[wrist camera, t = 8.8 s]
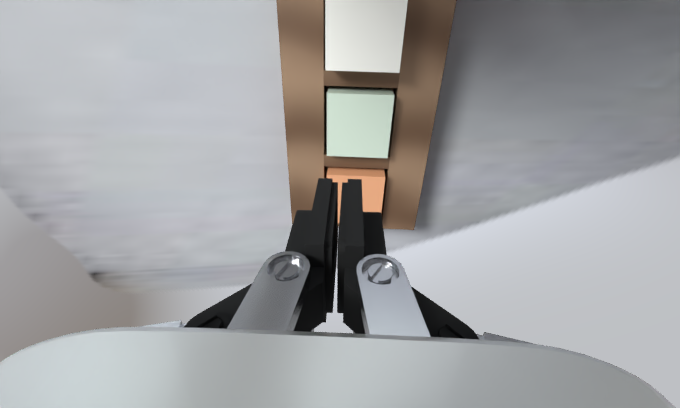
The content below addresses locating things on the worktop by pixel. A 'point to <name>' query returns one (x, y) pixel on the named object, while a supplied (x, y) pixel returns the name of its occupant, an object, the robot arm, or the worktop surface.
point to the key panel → (408, 86)
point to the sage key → (359, 121)
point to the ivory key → (364, 35)
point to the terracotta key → (370, 185)
